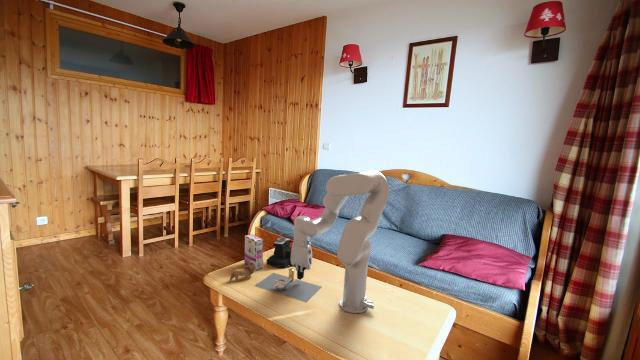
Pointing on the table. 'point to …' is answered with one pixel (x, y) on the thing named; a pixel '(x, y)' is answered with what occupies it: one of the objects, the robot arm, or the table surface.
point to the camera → (281, 254)
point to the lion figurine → (244, 271)
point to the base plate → (290, 287)
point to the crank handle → (284, 281)
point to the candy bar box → (254, 250)
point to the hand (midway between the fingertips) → (300, 278)
